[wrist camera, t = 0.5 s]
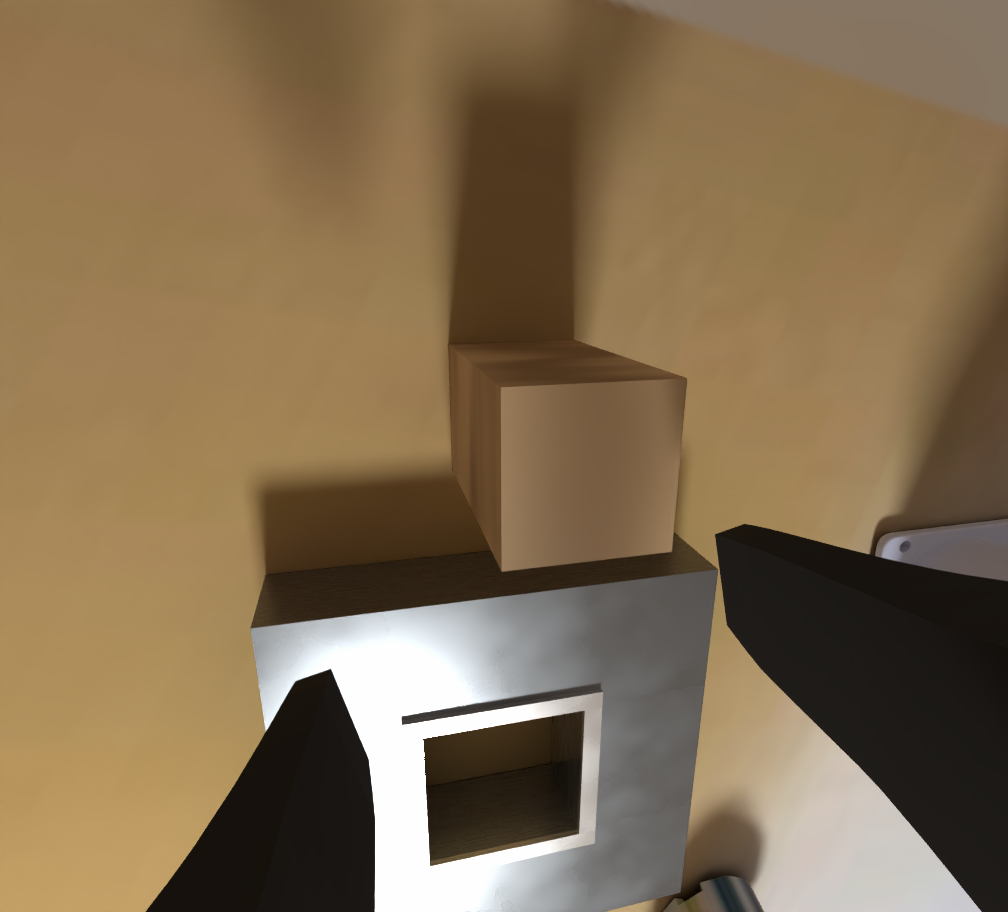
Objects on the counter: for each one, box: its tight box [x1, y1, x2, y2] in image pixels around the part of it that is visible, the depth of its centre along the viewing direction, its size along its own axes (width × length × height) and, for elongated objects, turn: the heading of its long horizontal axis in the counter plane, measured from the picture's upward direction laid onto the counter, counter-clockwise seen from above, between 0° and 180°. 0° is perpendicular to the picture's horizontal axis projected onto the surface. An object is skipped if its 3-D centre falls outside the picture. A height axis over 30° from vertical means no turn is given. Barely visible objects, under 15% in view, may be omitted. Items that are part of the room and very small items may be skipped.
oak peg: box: [448, 340, 687, 572], centre depth 16 cm, size 4×4×7 cm
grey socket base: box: [251, 533, 718, 912], centre depth 21 cm, size 14×14×3 cm
